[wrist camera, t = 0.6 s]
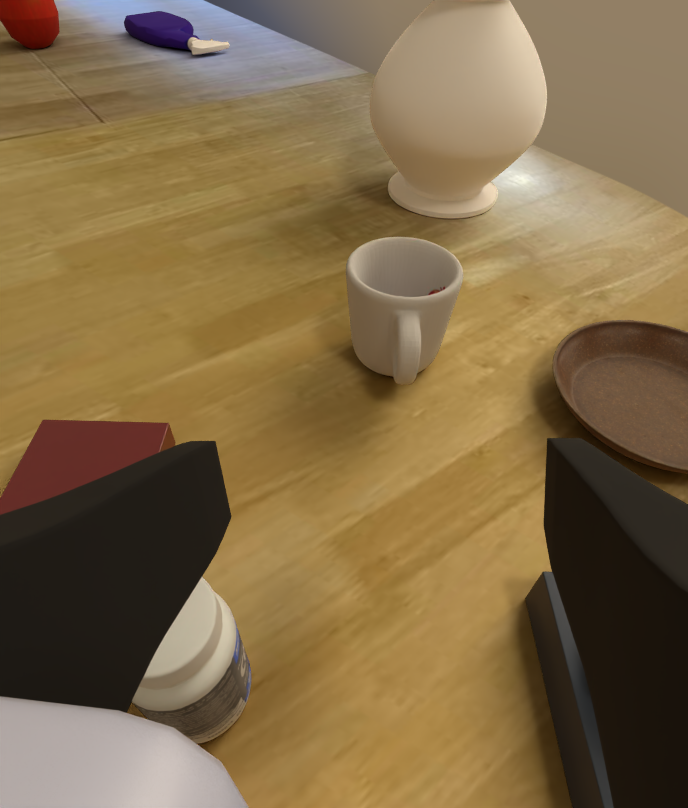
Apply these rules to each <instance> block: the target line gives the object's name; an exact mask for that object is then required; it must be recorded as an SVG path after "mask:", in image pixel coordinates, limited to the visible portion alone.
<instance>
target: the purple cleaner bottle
mask: <svg viewBox="0 0 688 808" xmlns="http://www.w3.org/2000/svg"><path fill="white" fill-rule="evenodd" d="M124 25H125V28H126V31H127V32H128V33H129V34H130V35H131V36H133V37H135V38H137V39H139V40H141V41H144V42H146V43H149V44H152V45H156V46H159V47H173V48H180V49H187V50H192V55H199V54H205V53H211V52H218V51H221V50H224V49H228V48H229V43H228V42H219V41H213V39H211V40H210V41H205V40H200V39H199V38H198V37H197V36H194V35H193V27H192V25H191V24H190V22H189V21H187V20H186V19H184V18H181V17H178V16H175V15H173V14H170V13H166V12H162V11H157V12H150V13H143V14H136V15H129V16H126V18H125V21H124Z"/></svg>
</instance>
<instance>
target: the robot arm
mask: <svg viewBox="0 0 688 808" xmlns="http://www.w3.org/2000/svg"><path fill="white" fill-rule="evenodd" d="M230 519H231V513H230V508H229V503H228V499H227V494H226V489H225V485H224V480H223V475H222V470H221V466H220V461H219V456H218V452H217V447H216V442H215V441H190V442H186V443H182V444H179V445H176V446H174V447H171V448H168V449H166V450H163V451H161V452H159V453H156V454H154V455H152V456H149V457H147V458H145V459H142V460H140V461H138V462H136V463H133V464H131V465H129V466H127V467H124V468H122V469H120V470H118V471H115V472H113V473H111V474H109V475H106V476H104V477H101V478H99V479H96V480H94V481H92V482H89V483H87V484H84V485H82V486H80V487H77V488H75V489H72V490H70V491H68V492H65V493H62V494H60V495H57V496H55V497H52V498H49V499H46V500H44V501H41V502H38V503H35V504H32V505H29V506H26V507H23V508H20V509H17V510H14V511H11V512H7V513H4V514H1V515H0V808H248V806H247V804H246V802H245V800H244V798H243V797H242V795H241V793H240V792H239V790H238V788H237V787H236V785H235V783H234V782H233V780H232V779H231V777H230V775H229V774H228V772H227V770H226V769H225V767H224V765H223V764H222V762H221V761H219V760H218V759H216V758H215V757H214V756H212V755H211V754H210V753H208V752H207V751H205V750H204V749H203V748H201V747H200V746H199V745H197V744H196V743H194V742H193V741H192V740H190V739H189V738H188V737H186V736H185V735H183V734H182V733H181V732H179V731H178V730H176V729H175V728H173V727H170V726H167V725H164V724H161V723H157V722H154V721H151V720H148V719H144V718H141V717H138V716H135V715H132V714H128V713H127V711H128V709H129V706H130V704H131V702H132V700H133V697H134V695H135V693H136V691H137V689H138V687H139V685H140V683H141V681H142V679H143V677H144V675H145V673H146V671H147V669H148V667H149V665H150V662H151V660H152V658H153V656H154V654H155V652H156V651H157V649H158V647H159V645H160V644H161V642H162V640H163V638H164V637H165V635H166V633H167V632H168V630H169V628H170V627H171V625H172V624H173V622H174V620H175V619H176V617H177V616H178V614H179V612H180V611H181V609H182V608H183V606H184V604H185V603H186V601H187V600H188V598H189V596H190V595H191V593H192V592H193V590H194V589H195V587H196V585H197V584H198V582H199V581H200V579H201V577H202V576H203V574H204V572H205V571H206V569H207V567H208V566H209V564H210V563H211V561H212V559H213V557H214V556H215V554H216V552H217V550H218V548H219V545H220V543H221V541H222V539H223V537H224V534H225V532H226V529H227V527H228V524H229V522H230ZM544 530H545V536H546V542H547V548H548V553H549V559H550V564H551V569H552V572H553V575H554V578H555V582H556V585H557V588H558V591H559V594H560V597H561V601H562V604H563V607H564V610H565V613H566V616H567V619H568V622H569V625H570V628H571V631H572V634H573V637H574V641H575V644H576V647H577V650H578V653H579V656H580V659H581V662H582V665H583V668H584V672H585V676H586V679H587V683H588V687H589V690H590V694H591V699H592V704H593V709H594V713H595V718H596V723H597V727H598V732H599V737H600V742H601V746H602V751H603V756H604V761H605V766H606V771H607V776H608V781H609V787H610V792H611V797H612V802H613V807H614V808H688V504H686V503H684V502H683V501H681V500H679V499H677V498H675V497H674V496H672V495H670V494H668V493H666V492H665V491H663V490H661V489H660V488H658V487H656V486H655V485H653V484H651V483H650V482H648V481H646V480H645V479H643V478H641V477H640V476H638V475H637V474H635V473H634V472H632V471H631V470H629V469H627V468H626V467H624V466H623V465H621V464H620V463H618V462H617V461H615V460H614V459H612V458H611V457H609V456H608V455H606V454H605V453H603V452H602V451H601V450H599V449H598V448H596V447H594V446H593V445H591V444H590V443H588V442H587V441H585V440H583V439H581V438H547V457H546V481H545V505H544Z"/></svg>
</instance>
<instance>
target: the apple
mask: <svg viewBox="0 0 688 808" xmlns="http://www.w3.org/2000/svg"><path fill="white" fill-rule="evenodd" d="M0 20H1V22H2V23H3V25H4V27H5V28H6V30H7V31H8V33H9V34H10V36H11V37H12V38H14V39H15V40H16V41H18V42H19V43H20V44H22V45H23V46H25V47H27V48H31V49H40V48H45V47H47V46H49V45H51V44H52V42H53V41H54V40H55V38H56V37H57V35H58V34H59V18H58V11H57V8H56V5H55V3H54V0H0Z"/></svg>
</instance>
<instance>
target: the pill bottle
mask: <svg viewBox="0 0 688 808" xmlns="http://www.w3.org/2000/svg"><path fill="white" fill-rule="evenodd" d="M250 689H251V669H250V664H249V660H248V657H247V655H246V652H245V649H244V646H243V643H242V640H241V637H240V635H239V632H238V629H237V625H236V622H235V620H234V617H233V615H232V612H231V610H230V608H229V607H228V605H227V604H226V602H225V601H224V600H223V599H222V598H221V597H220V596H219V595H218V594H217V593H215V592H214V591H213V590H212V588H211V586H210V585H209V583H208V582H207V581H206V580H205V579H204V578H203V577H201V579H200V581H199V582H198V584H197V585H196V587H195V589H194V590H193V592H192V593H191V595H190V596H189V598H188V600H187V601H186V603H185V604H184V606H183V608H182V609H181V611H180V612H179V614H178V616H177V617H176V619H175V620H174V622H173V624H172V625H171V627H170V628H169V630H168V632H167V633H166V635H165V637H164V638H163V640H162V642H161V644H160V645H159V647H158V649H157V651H156V652H155V654H154V656H153V658H152V660H151V662H150V665H149V667H148V669H147V671H146V673H145V675H144V677H143V679H142V681H141V683H140V685H139V687H138V689H137V691H136V693H135V695H134V697H133V700H132V703H133V704H134V705H135V706H136V707H137V708H138V709H139V710H140V711H141V712H142V713H143V714H144V715H145V716H146V717H147V719H148V720H151V721H154V722H157V723H161V724H164V725H167V726H170V727H173V728H175V729H176V730H178V731H179V732H181V733H182V734H183V735H185V736H186V737H188V738H189V739H190V740H192V741H193V742H194V743H196V744H198V743H203V742H207V741H210V740H212V739H214V738H216V737H218V736H219V735H221V734H222V733H224V732H225V731H226V730H227V729H229V728H230V727H231V726H232V725H233V724H234V722H235V721H236V720H237V719H238V718H239V716H240V715H241V713H242V711H243V709H244V707H245V705H246V703H247V700H248V697H249V694H250Z"/></svg>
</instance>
